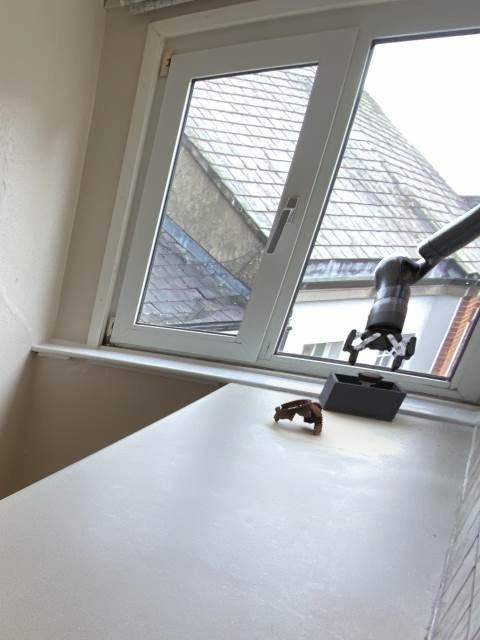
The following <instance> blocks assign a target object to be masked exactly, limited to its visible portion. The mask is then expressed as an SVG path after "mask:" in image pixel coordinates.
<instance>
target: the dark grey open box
mask: <svg viewBox="0 0 480 640" xmlns="http://www.w3.org/2000/svg"><path fill="white" fill-rule="evenodd" d="M357 377H358V375H353V374H352V375H351V374H345V373H339V372H334V371H330V372H329V375H328V377H327V379H326V381H325V383H324V385H323V387H322V390H321V392H320V394H319V396H318V400H319V404H321V406H322V410H324V411H329V412H334V413H335V412H336V413H340V414H347V415H352V416H357V417H363V418H367V419H374V420H379V421H385V422H390V423H392V422H394V419H395V417H397V414H398V412H399V410H400V408H401V406H402V405H403V402H404V400H405V399H406V397H407V395H408V393H407V392H406V390H405V389H404V388H403V387H402V386H401V385H400V383H398V382H397V381H391V380H386V379H385V380H384V379H382V380H381V382H380V383H376V384H371V385H370V387H367V386H361V385H362V382H360V381H359V380H358V379H357Z"/></svg>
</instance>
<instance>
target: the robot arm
mask: <svg viewBox="0 0 480 640" xmlns="http://www.w3.org/2000/svg"><path fill="white" fill-rule="evenodd" d="M479 238H480V203H479V204H478V205H476V206H475V207H473V208H472V209H471V210H469V211H467V212H466V213H464V214H463V215H461V216H459V217H458V218H456V219H455V220H453V221H452V222H450V223H449V224H447V225H445V226H444V227H442V228H441V229H440V230H438V231H436V232H434V233H433V234H431V235H430V236H429V237H427V238H426V239H424V240H422V241H421V242H420V243H419V244H418V246H417V252H418V254H419V255H420V257H421V258H420V259H419V260H418V261H416V260H414V259H412V258H410V257H408V256H406V255H405V254H401V253H393V254H390V255H388V256H386V257H384V258H383V259H381V261H380V262H379V263H378V264H377V266H376V267H375V270H374V272H373V273H374V274H373V281H374V289H375V297H374V300H373V304H372V306H371V308H370V311H369V313H368V315H367V321H366V323H365V328H364V330H363V332H360V331H358V330H357V329H355V328H352V329H351V330H350V332H349V333H348V334H347V337H346V339H345V342H344V344H343V347H342V348H341V349H342V352H345V353H346V352H348V353H349V356H348V359H347V363H348V364H349V366H352V367H353V366H355V365H356V363H357V360H358V358H359V357H358V356H359V353H360V352H362V351H364V350H366V349H369V351H379V352H386V353H387V354H388V355H389V356H391V357H392V358H393V360H392V363H391V367H390V371H389V372H395V371H398V370H399V369H400V367H401V366H402V363H403V361H409V360H411V358H412V357H413V356H414V355H415V352H416V346H417V341H418V338H417V336H411V337H403V335H402V334H403V333H402V332H403V329H404V326H405V322H406V318H407V314H408V310H409V309H408V308H409V307H408V306H409V302H410V297H411V295H412V289H411V287H412V286H415V285H416V284H417V283H419V282H421V280H423V279H424V277H426V276H427V275H428V274H429V273H430V272H431V271H432V270H433V269H434V268H436V267H437V266H438V265H439V264H440V263H441V262H443V261H444V260H446V259H447V258H448V257H450V256H452V255H453V254H455V253H457V252H458V251H460V250H461V249H463V248H465V247H466V246H468V245H470V244H471V243H472V242H475V241H476V240H477V239H479ZM358 338H360V340H361V342H360V343H358V344H356V345H353V343H354V341H356V340H357V339H358ZM400 344H402V346H403V347H404V348H405V349H404V350H403V349H402V346H401V345H400Z"/></svg>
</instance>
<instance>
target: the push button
mask: <svg viewBox="0 0 480 640" xmlns="http://www.w3.org/2000/svg"><path fill="white" fill-rule="evenodd" d="M381 374H382V372H380V371H376V370H370V369H364V370H363V371H362V372H357V375H356V376H358V377H357V379H358V380H359V381H360V382H362V385H361V386H367V387H370V385H371V384H376V383H380V382H381V380H384V379H385V378H384V377H385V376H382V375H381Z"/></svg>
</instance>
